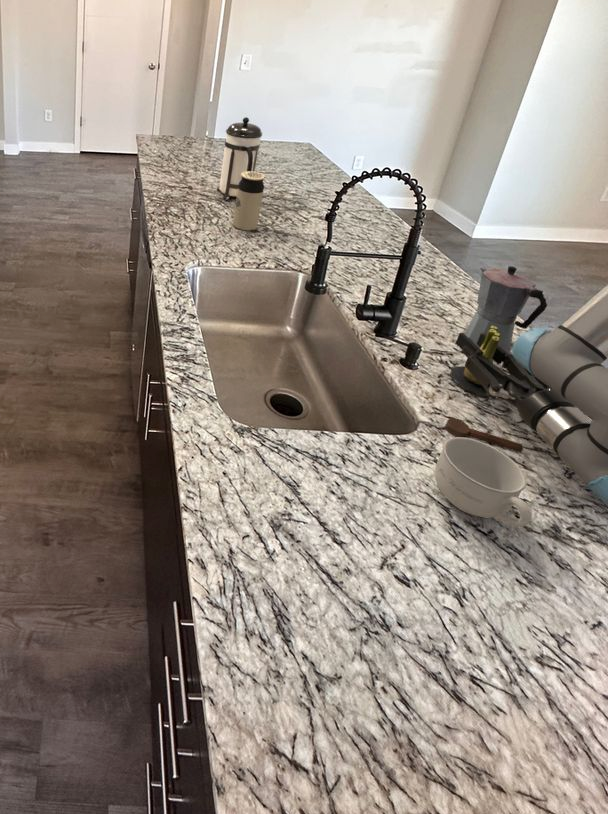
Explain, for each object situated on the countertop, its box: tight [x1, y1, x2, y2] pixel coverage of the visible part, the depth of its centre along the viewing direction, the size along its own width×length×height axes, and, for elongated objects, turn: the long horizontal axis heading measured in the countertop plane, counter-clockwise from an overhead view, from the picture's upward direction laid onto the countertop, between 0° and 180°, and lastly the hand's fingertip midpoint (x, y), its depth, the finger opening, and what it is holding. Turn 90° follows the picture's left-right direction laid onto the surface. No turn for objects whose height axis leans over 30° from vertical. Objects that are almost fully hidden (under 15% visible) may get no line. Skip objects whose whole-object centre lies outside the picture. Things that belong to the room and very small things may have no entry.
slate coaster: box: [449, 365, 491, 399], centre depth 111 cm, size 9×9×1 cm
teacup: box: [434, 436, 533, 528], centre depth 82 cm, size 14×11×8 cm
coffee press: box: [216, 116, 263, 201], centre depth 198 cm, size 17×16×30 cm
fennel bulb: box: [464, 326, 500, 385], centre depth 108 cm, size 6×5×12 cm
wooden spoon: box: [444, 418, 524, 454], centre depth 97 cm, size 12×4×1 cm, turn 63°
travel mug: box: [232, 171, 266, 231], centre depth 175 cm, size 8×8×18 cm
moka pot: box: [463, 265, 548, 354], centre depth 118 cm, size 10×15×20 cm, turn 18°
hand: (469, 338), depth 113 cm, fingers closed on fennel bulb, 4 cm apart
